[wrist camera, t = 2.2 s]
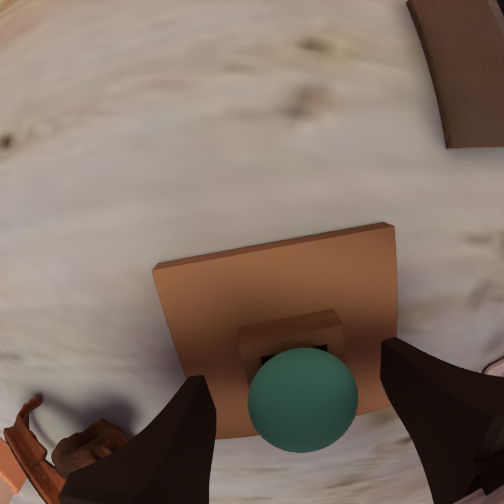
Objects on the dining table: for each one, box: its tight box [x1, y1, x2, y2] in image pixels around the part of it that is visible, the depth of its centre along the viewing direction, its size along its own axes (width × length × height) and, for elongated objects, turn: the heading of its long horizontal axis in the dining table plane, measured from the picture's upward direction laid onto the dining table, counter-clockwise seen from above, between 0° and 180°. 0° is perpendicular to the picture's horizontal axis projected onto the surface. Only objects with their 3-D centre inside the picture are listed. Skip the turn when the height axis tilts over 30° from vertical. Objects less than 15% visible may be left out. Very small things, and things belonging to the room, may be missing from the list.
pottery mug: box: [4, 396, 128, 504], centre depth 13 cm, size 12×10×8 cm
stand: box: [152, 222, 397, 439], centre depth 13 cm, size 10×10×2 cm
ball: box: [248, 348, 358, 453], centre depth 10 cm, size 4×4×4 cm
